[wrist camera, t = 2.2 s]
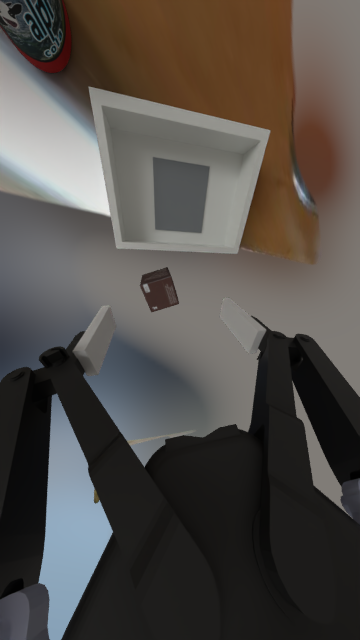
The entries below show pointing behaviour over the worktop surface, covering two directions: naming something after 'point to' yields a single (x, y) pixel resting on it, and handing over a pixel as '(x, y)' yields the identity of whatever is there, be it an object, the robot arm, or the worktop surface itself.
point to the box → (159, 289)
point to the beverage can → (38, 31)
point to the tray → (175, 174)
